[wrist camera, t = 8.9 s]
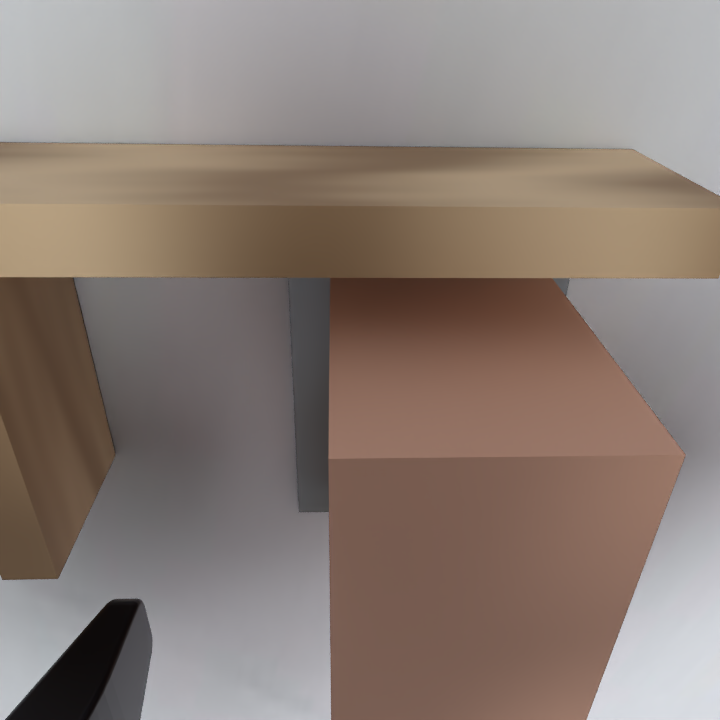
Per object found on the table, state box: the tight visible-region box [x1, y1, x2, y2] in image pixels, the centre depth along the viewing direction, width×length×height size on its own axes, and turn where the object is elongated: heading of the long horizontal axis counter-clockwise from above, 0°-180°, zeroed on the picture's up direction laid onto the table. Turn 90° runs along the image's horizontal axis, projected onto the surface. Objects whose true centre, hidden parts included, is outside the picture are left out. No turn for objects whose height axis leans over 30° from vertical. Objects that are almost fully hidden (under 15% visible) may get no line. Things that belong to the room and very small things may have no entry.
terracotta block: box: [328, 278, 685, 720], centre depth 11 cm, size 6×4×6 cm, turn 0°
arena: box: [0, 142, 720, 580], centre depth 12 cm, size 12×9×4 cm
